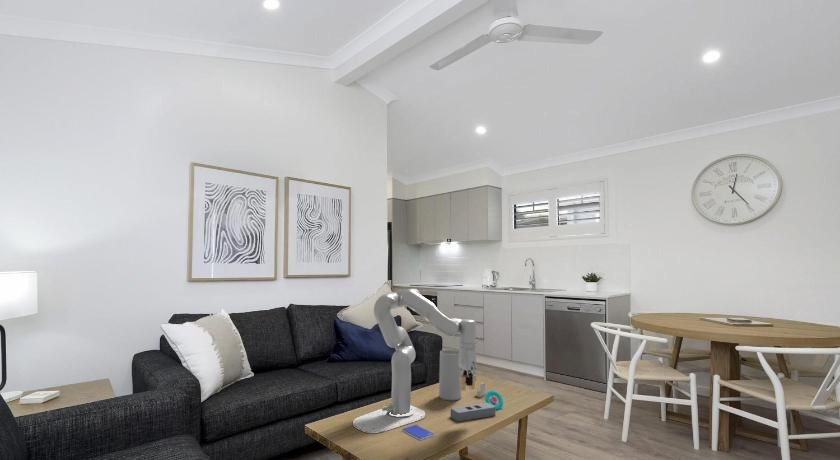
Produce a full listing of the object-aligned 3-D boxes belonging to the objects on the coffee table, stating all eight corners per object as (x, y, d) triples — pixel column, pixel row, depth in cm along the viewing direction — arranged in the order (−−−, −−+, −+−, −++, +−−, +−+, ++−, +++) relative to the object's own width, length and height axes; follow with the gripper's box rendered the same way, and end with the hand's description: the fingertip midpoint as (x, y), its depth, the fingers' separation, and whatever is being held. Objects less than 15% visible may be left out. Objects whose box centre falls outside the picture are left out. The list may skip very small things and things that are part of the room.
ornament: (500, 396, 228) (483, 391, 228) (503, 393, 225) (486, 387, 225) (499, 415, 220) (481, 409, 220) (502, 412, 217) (484, 406, 217)
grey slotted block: (458, 421, 200) (458, 412, 201) (450, 416, 207) (450, 408, 207) (495, 415, 210) (495, 406, 211) (487, 410, 216) (487, 402, 217)
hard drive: (434, 433, 184) (416, 424, 193) (420, 437, 178) (402, 428, 188) (434, 436, 184) (416, 427, 193) (420, 441, 178) (402, 432, 188)
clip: (461, 391, 200) (461, 377, 200) (458, 389, 202) (458, 375, 203) (476, 389, 203) (476, 375, 203) (472, 387, 206) (472, 373, 206)
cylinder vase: (461, 394, 242) (462, 350, 243) (461, 401, 229) (462, 355, 231) (439, 393, 243) (440, 349, 245) (438, 400, 230) (439, 353, 232)
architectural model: (474, 396, 240) (475, 383, 240) (480, 393, 245) (480, 380, 246) (480, 398, 238) (480, 384, 238) (485, 395, 243) (485, 382, 244)
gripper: (452, 342, 210) (452, 380, 209) (469, 349, 195) (469, 389, 194) (465, 342, 213) (465, 379, 212) (483, 348, 198) (483, 388, 197)
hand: (467, 383), depth 203 cm, fingers closed on clip, 3 cm apart
